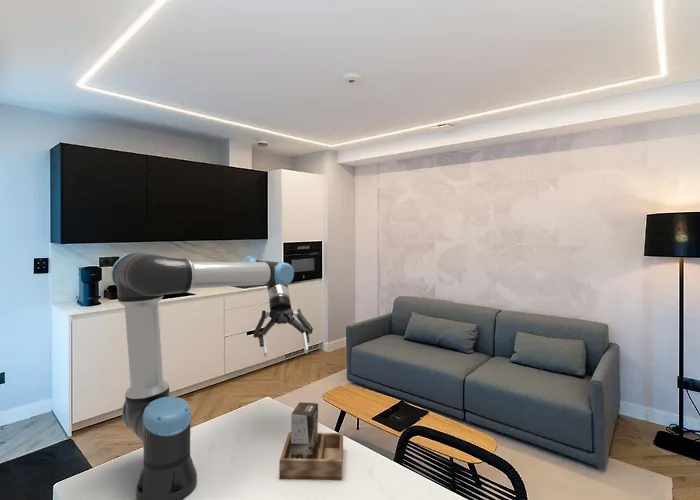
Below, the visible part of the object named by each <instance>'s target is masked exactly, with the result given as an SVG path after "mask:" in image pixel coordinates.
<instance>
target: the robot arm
mask: <svg viewBox="0 0 700 500" xmlns="http://www.w3.org/2000/svg"><path fill="white" fill-rule="evenodd" d="M294 277H295V271H294V268H293V266H292V265H291V264H290V263H288V262H285V261H280V262H279V261H269V260H260V259H258V258H256V257H253V256H251V255H247V256H245V257H244V258H243V259H242V261H233V262H232V261H218V262H217V261H191V260H190V259H189V258H176V257H168V256H164V255H163V256H162V255H159V254H154V253H145V252H137V251H136V252H131V253H127V254H124V255H123V256H121V257H120V258H118V259H117V260H116V261H115V262H114V264H113V266H112V269H111V278H112V282H113V283H114V285H115V286H116V289H117V292H116V293H117V302H118V303H120V304H121V305H122V306H123V307H124V314H125V317H124V318H125V329H126V342H127V353H128V354H127V355H128V356H127V357H128V367H129V383H130V384H129V385H130V386H129V388H128V389H127V390H126V391H125V392H124V394H125V395H124V398H125V401H124V403H123V404H122V407H121V409H122V410H121V415H122V419H123V422H124V424H125V425H126V426H127V428H128V429H130V430H131V431H132V432H133V433H134V434H135V435H136V436H137V437H138V438H139V439H140V440H141V442H142V443H143V444H142V445H143V466H142V469H141V472H140V475H139V478H138V481H137V484H136V487H135V493H136V494H135V497H136V498H135V499H136V500H184V499H185V498H186V497H188V496H189V495H190V494H191V493H192V492H194V490H195V488H196V487H197V483H198V473H197V469H196V468H195V464H194V462H193V459H192V457H191V420H192V414H191V407H190V404H189V403H188V401H187V400H185V399H184V398H181V397H175V396H171V394H170V384H169V382H167V381H166V380H164V373H163V364H162V363H163V361H162V359H163V357H162V344H161V333H160V332H161V330H160V328H161V327H160V316H159V315H160V314H159V302H160V301H161V300H162V299H163V298H164V295H165V296H166V295H173V294H182V293H188V292H190V291H191V289H204V288H205V289H207V288H209V289H210V288H224V287H226V288H227V287H241V286H242V287H243V286H259V285H260V286H261V285H263V286H265V287H266V288H267V293H268V302H269V309H270V310H269V311H266V310H262V311H261V317H260V319H259V321H258V323H257V325H256V326H255V329H254V331H253V338H255V339H257V338H258V343H259V347H260V348H262V349H263V357H264V358H266V357H267V355H268V349H267V348H268V347H267V338H266V334H267V333H268V332H269V331H270V330H271V329H272V327H273V326H274V325H276V324H277V325H281V324H283V325H285V324H289V325H290V326H292V327H293V328H294V329H296V330H297V331H298V332H299V333H300V334H302V337H301V338H302V344H303V349H304V354H308V351H309V346H308V345H309V343H310V340H311V339H310V335H312V333H313V331H314V328H313V327H312V325H311V323H310V322H308V320H307V319H306V317H305V316H304V315H303V313H302V310H301V309H300V308H297V310H293V309H292V304H291V297H290V292H289V287H288V285H289V284H291V283H292V281H293V279H294ZM268 317H269V318H270V320H269V321H268V323H266V325H265V326H264V327H263V325H264V322H265V320H266V319H267V318H268ZM296 318H297V319H296ZM262 327H263V329H262ZM261 329H262V330H261Z"/></svg>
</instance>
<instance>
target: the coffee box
mask: <svg viewBox="0 0 700 500" xmlns="http://www.w3.org/2000/svg"><path fill="white" fill-rule="evenodd" d="M290 415H291V416H290V421H291V423H290V432H291V458H293V459H315V457H316V455H317V448H318V433H319V431H318V430H319V427H318V426H319V424H318V423H319V419H318V418H319V403H316V402H301V401H299V403H297V405H296V407H295V408H294V410H293V411H292V413H291V414H290Z"/></svg>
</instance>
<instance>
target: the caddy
mask: <svg viewBox="0 0 700 500" xmlns="http://www.w3.org/2000/svg"><path fill="white" fill-rule="evenodd" d="M287 433H288V434H287V436H286V440H285V443H284V445H283V449H282V451H281V454H280V458H279V466H278V467H279V470H278V471H279V473H278V474H279V475H278V476H279V477H278V479H279V480H310V481H311V480H316V481H317V480H318V481H319V480H320V481H342V479H343V476H342V475H343V461H344V459H343V458H344V432H318V448H317V455H316V457H315V459H293V458H291V431H290V432H289V431H288V432H287Z"/></svg>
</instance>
